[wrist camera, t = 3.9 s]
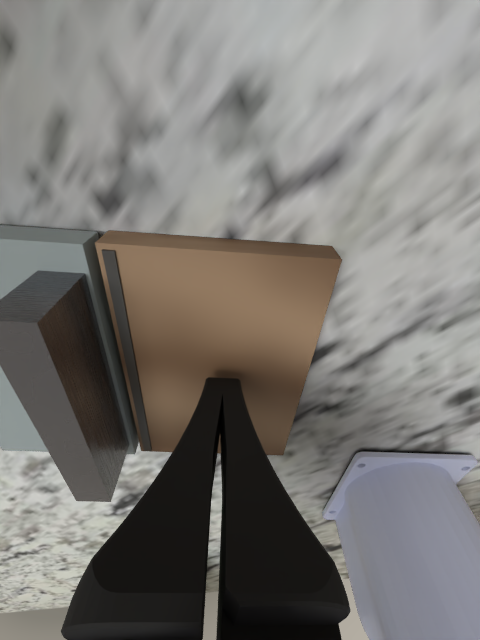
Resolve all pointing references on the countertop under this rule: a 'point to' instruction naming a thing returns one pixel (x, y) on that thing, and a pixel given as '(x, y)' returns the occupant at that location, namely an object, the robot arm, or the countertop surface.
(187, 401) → the board
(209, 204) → the countertop surface
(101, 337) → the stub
